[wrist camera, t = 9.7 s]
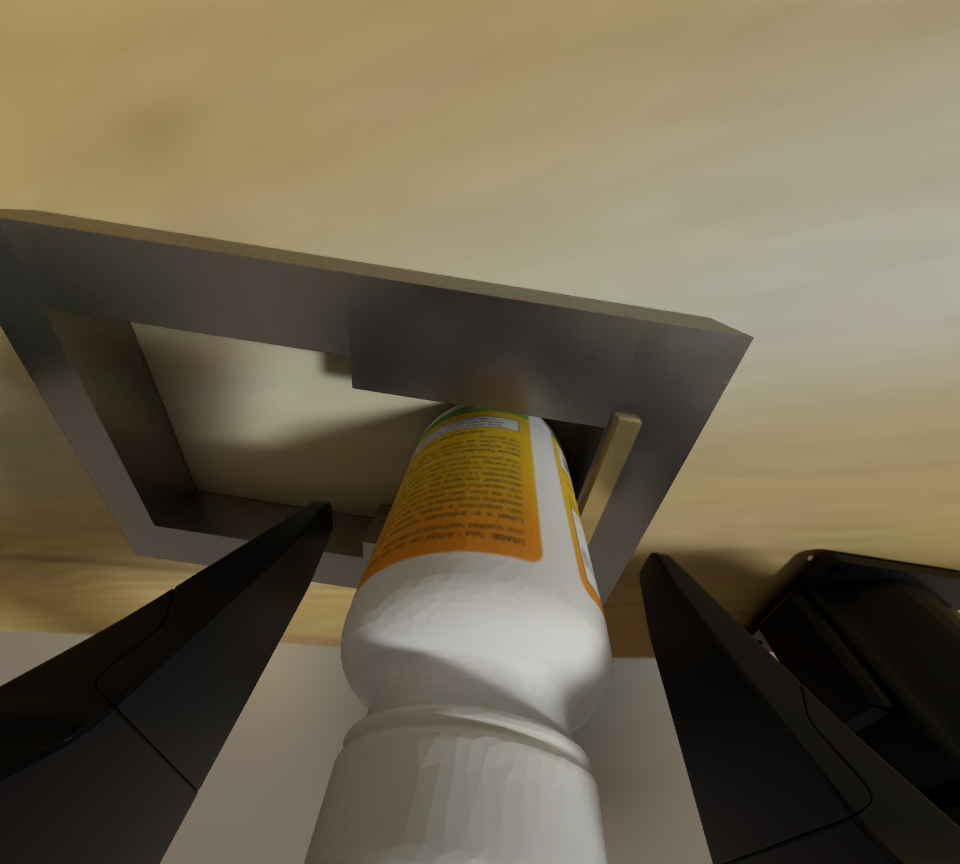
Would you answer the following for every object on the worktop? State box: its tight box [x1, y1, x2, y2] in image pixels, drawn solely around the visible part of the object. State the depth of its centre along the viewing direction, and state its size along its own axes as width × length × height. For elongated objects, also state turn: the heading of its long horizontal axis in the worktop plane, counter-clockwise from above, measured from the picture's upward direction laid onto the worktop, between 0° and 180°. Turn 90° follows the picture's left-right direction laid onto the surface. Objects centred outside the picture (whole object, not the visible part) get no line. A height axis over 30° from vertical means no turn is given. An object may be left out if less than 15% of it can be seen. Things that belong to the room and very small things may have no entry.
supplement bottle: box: [305, 405, 612, 864], centre depth 9 cm, size 5×5×10 cm
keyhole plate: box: [0, 209, 754, 607], centre depth 12 cm, size 19×12×2 cm, turn 82°
